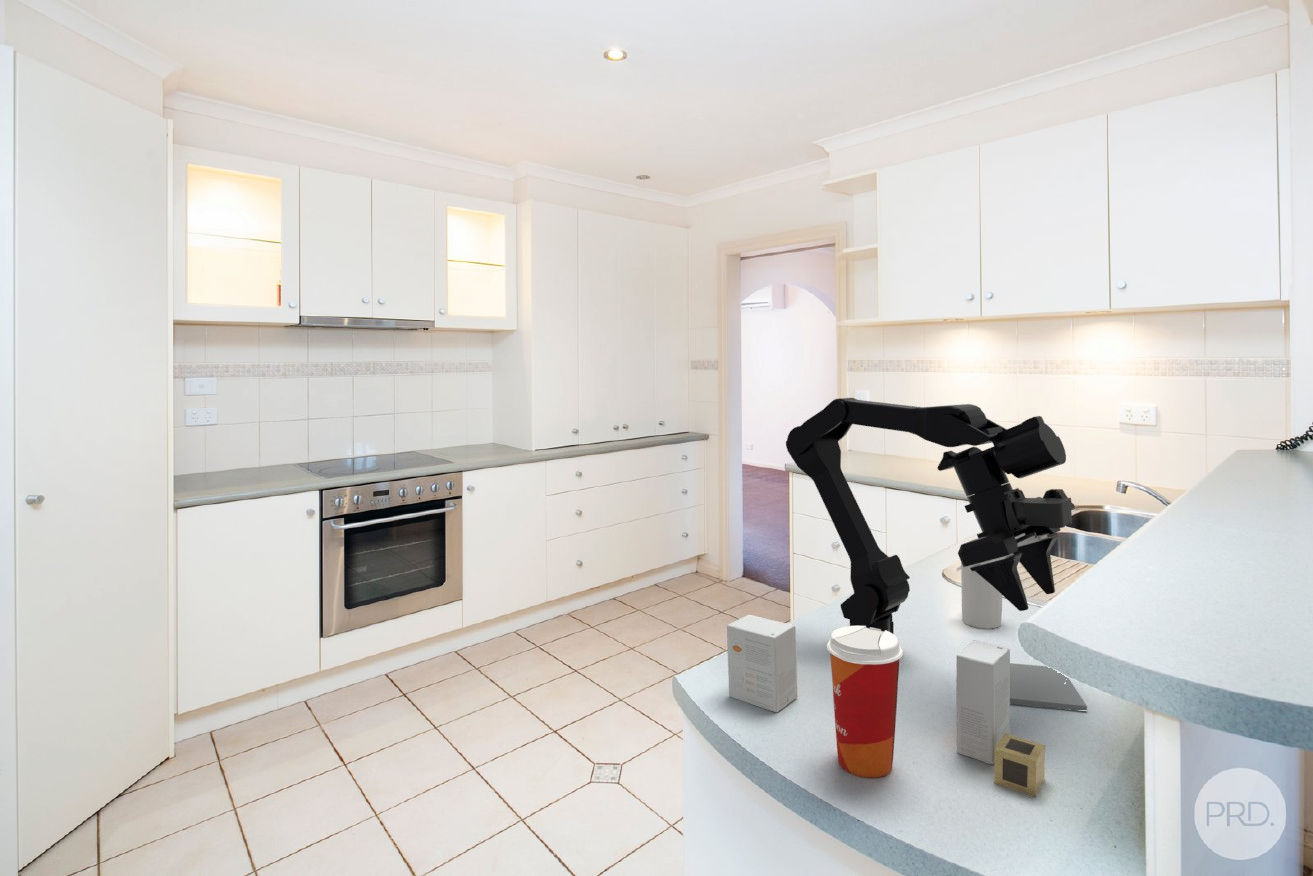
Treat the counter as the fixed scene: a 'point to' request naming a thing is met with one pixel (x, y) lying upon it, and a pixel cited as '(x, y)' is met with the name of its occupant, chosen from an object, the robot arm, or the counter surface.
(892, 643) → the coffee cup
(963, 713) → the skincare box
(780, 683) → the small box
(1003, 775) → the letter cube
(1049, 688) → the slate pad
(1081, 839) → the counter surface
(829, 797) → the counter surface
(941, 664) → the counter surface
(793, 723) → the counter surface
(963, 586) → the mug
